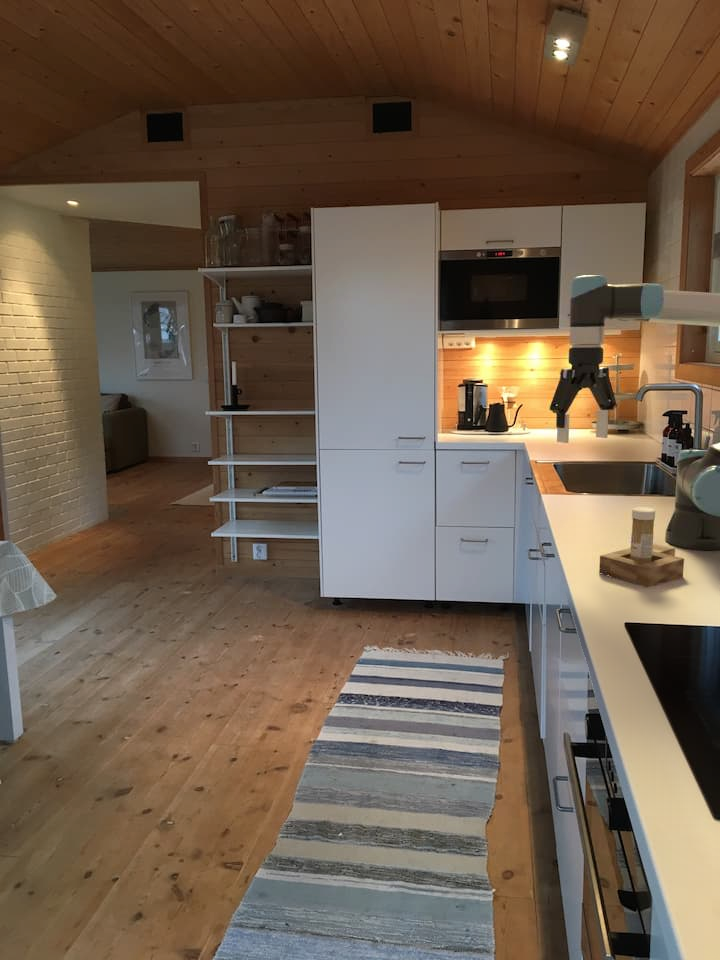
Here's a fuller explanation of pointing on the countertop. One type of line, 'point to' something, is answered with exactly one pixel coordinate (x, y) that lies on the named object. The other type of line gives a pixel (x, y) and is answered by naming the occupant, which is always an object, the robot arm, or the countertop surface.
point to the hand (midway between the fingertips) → (582, 440)
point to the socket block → (641, 568)
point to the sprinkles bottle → (642, 534)
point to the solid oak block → (663, 549)
